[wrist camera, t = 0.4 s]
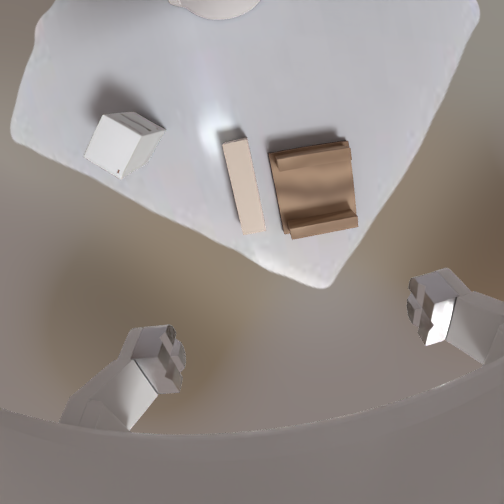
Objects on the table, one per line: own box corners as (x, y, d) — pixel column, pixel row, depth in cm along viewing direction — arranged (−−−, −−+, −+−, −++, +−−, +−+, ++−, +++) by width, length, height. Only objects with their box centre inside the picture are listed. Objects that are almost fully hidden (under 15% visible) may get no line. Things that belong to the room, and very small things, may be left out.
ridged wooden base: (268, 153, 49) (270, 157, 44) (346, 140, 48) (355, 144, 43) (283, 231, 56) (286, 243, 51) (354, 218, 54) (363, 228, 50)
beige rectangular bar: (224, 142, 48) (222, 144, 45) (247, 137, 48) (247, 139, 44) (243, 226, 55) (243, 235, 52) (264, 222, 55) (266, 230, 52)
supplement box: (168, 129, 47) (143, 136, 35) (147, 164, 49) (120, 182, 38) (134, 110, 45) (102, 112, 33) (115, 145, 47) (81, 158, 36)
